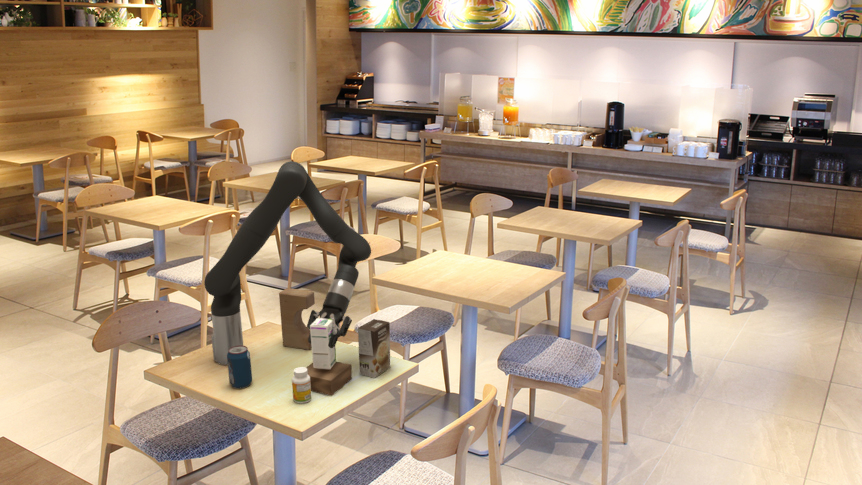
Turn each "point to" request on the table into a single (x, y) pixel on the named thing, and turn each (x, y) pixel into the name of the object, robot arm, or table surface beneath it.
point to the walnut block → (329, 378)
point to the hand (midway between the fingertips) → (320, 345)
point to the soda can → (239, 367)
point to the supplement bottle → (301, 385)
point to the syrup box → (322, 344)
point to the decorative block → (295, 317)
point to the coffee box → (374, 348)
